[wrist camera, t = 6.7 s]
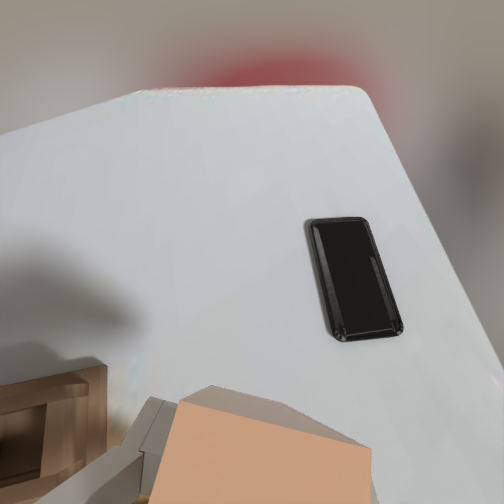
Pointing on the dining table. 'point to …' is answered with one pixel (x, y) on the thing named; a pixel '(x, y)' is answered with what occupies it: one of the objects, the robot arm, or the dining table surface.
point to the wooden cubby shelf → (50, 431)
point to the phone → (354, 280)
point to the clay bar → (257, 455)
